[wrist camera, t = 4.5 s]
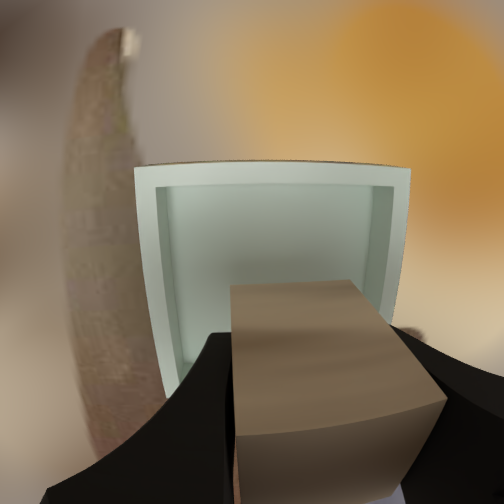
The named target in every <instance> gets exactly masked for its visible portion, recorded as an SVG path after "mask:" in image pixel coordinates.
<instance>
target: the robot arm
mask: <svg viewBox="0 0 504 504" xmlns="http://www.w3.org/2000/svg"><path fill="white" fill-rule="evenodd" d="M389 326H390V327H391V328H392V329H393V330H394V332H395V333H396V334H397V335H398V336H399V338H400V339H401V340H402V341H403V342H404V344H405V345H406V346H407V347H408V349H409V350H410V351H411V352H412V353H413V355H414V356H415V357H416V358H417V360H418V361H419V362H420V363H421V365H422V366H423V367H424V368H425V370H426V371H427V372H428V373H429V375H430V376H431V377H432V379H433V380H434V381H435V382H436V384H437V385H438V386H439V387H440V389H441V390H442V391H443V393H444V394H445V395H446V397H447V398H448V399H447V401H446V403H445V405H444V407H443V409H442V411H441V413H440V415H439V417H438V419H437V421H436V423H435V425H434V427H433V429H432V431H431V433H430V435H429V436H428V438H427V440H426V442H425V444H424V445H423V447H422V449H421V451H420V452H419V454H418V456H417V457H416V459H415V461H414V462H413V464H412V465H411V467H410V469H409V470H408V472H407V473H406V475H405V476H404V478H403V479H402V481H401V482H400V484H399V485H398V487H397V488H396V490H395V491H394V493H393V494H392V495H391V496H389V497H386V498H383V499H379V500H376V501H372V502H369V503H365V504H504V377H502V376H498V375H495V374H492V373H489V372H486V371H483V370H481V369H478V368H475V367H472V366H470V365H468V364H465V363H463V362H461V361H458V360H457V359H454V358H452V357H450V356H448V355H445V354H444V353H442V352H440V351H438V350H436V349H434V348H432V347H430V346H429V345H427V344H425V343H423V342H421V341H419V340H418V339H416V338H414V337H412V336H410V335H409V334H407V333H405V332H403V331H401V330H399V329H398V328H396V327H394V326H392V325H390V324H389ZM235 432H236V431H235V411H234V389H233V365H232V338H231V332H214V333H211V334H210V335H209V336H208V338H207V340H206V342H205V345H204V347H203V349H202V350H201V352H200V354H199V356H198V358H197V359H196V361H195V363H194V364H193V366H192V367H191V369H190V370H189V372H188V374H187V375H186V377H185V378H184V379H183V381H182V382H181V383H180V385H179V386H178V387H177V389H176V390H175V391H174V393H173V394H172V395H171V397H170V398H169V399H168V400H167V401H166V402H165V404H164V405H163V406H162V407H161V408H160V409H159V410H158V411H157V412H156V413H155V415H154V416H153V417H152V418H151V419H150V420H149V421H148V422H147V423H146V424H144V425H143V426H142V427H141V428H140V429H139V430H138V431H137V432H136V433H135V434H134V435H132V436H131V437H130V438H129V439H128V440H126V441H125V442H124V443H123V444H122V445H120V446H119V447H117V448H116V449H115V450H113V451H112V452H110V453H109V454H108V455H106V456H105V457H103V458H102V459H101V460H99V461H98V462H96V463H95V464H93V465H92V466H90V467H88V468H87V469H85V470H83V471H81V472H80V473H78V474H76V475H74V476H72V477H70V478H68V479H66V480H64V481H62V482H60V483H58V484H56V485H54V486H52V487H49V488H47V490H46V492H45V495H44V496H43V498H42V500H41V502H40V504H234V490H233V467H234V449H235Z"/></svg>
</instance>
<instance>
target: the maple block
mask: <svg viewBox="0 0 504 504" xmlns="http://www.w3.org/2000/svg"><path fill="white" fill-rule="evenodd" d="M230 306H231V338H232V365H233V389H234V411H235V431H236V447H237V460H238V473H239V485H240V497H241V504H365V503H369V502H372V501H376V500H379V499H383V498H386V497H389V496H391V495H392V494H393V493H394V491H395V490H396V488H397V487H398V485H399V484H400V482H401V481H402V479H403V478H404V476H405V475H406V473H407V472H408V470H409V469H410V467H411V465H412V464H413V462H414V461H415V459H416V457H417V456H418V454H419V452H420V451H421V449H422V447H423V445H424V444H425V442H426V440H427V438H428V436H429V435H430V433H431V431H432V429H433V427H434V425H435V423H436V421H437V419H438V417H439V415H440V413H441V411H442V409H443V407H444V405H445V403H446V401H447V399H448V398H447V397H446V395H445V394H444V393H443V391H442V390H441V389H440V387H439V386H438V385H437V384H436V382H435V381H434V380H433V379H432V377H431V376H430V375H429V373H428V372H427V371H426V370H425V368H424V367H423V366H422V365H421V363H420V362H419V361H418V360H417V358H416V357H415V356H414V355H413V353H412V352H411V351H410V350H409V349H408V347H407V346H406V345H405V344H404V342H403V341H402V340H401V339H400V338H399V336H398V335H397V334H396V333H395V332H394V330H393V329H392V328H391V327H390V326H389V324H388V323H387V322H386V321H385V320H384V318H383V317H382V316H381V315H380V314H379V313H378V311H377V310H376V309H375V308H374V307H373V306H372V304H371V303H370V302H369V301H368V300H367V299H366V297H365V296H364V295H363V294H362V293H361V292H360V290H359V289H358V288H357V287H356V286H355V285H354V284H353V283H352V281H351V280H350V279H349V280H331V281H312V282H291V283H268V284H240V285H230Z"/></svg>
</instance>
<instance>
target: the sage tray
mask: <svg viewBox="0 0 504 504" xmlns="http://www.w3.org/2000/svg"><path fill="white" fill-rule="evenodd" d="M134 175H135V192H136V205H137V218H138V228H139V238H140V248H141V256H142V265H143V272H144V280H145V287H146V294H147V300H148V307H149V313H150V319H151V325H152V330H153V336H154V341H155V346H156V352H157V357H158V362H159V366H160V371H161V376H162V380H163V385H164V389H165V393H166V397H167V398H170V397H171V395H172V394H173V393H174V391H175V390H176V389H177V387H178V386H179V385H180V383H181V382H182V381H183V379H184V378H185V377H186V375H187V374H188V372H189V370H190V369H191V367H192V366H193V364H194V363H195V361H196V359H197V358H198V356H199V354H200V352H201V350H202V349H203V347H204V345H205V342H206V340H207V338H208V336H209V335H210V334H211V333H214V332H231V306H230V285H240V284H268V283H291V282H312V281H331V280H349V279H350V280H351V281H352V283H353V284H354V285H355V286H356V287H357V288H358V289H359V290H360V292H361V293H362V294H363V295H364V296H365V297H366V299H367V300H368V301H369V302H370V303H371V304H372V306H373V307H374V308H375V309H376V310H377V311H378V313H379V314H380V315H381V316H382V317H383V318H384V320H385V321H386V322H387V323H388V324H390V325H391V322H392V317H393V312H394V307H395V301H396V296H397V291H398V285H399V279H400V273H401V267H402V259H403V252H404V245H405V235H406V228H407V218H408V208H409V194H410V180H411V169H409V168H403V167H396V166H389V165H382V164H369V163H353V162H334V161H306V160H225V161H198V162H179V163H163V164H150V165H145V166H140V167H135V168H134Z"/></svg>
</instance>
